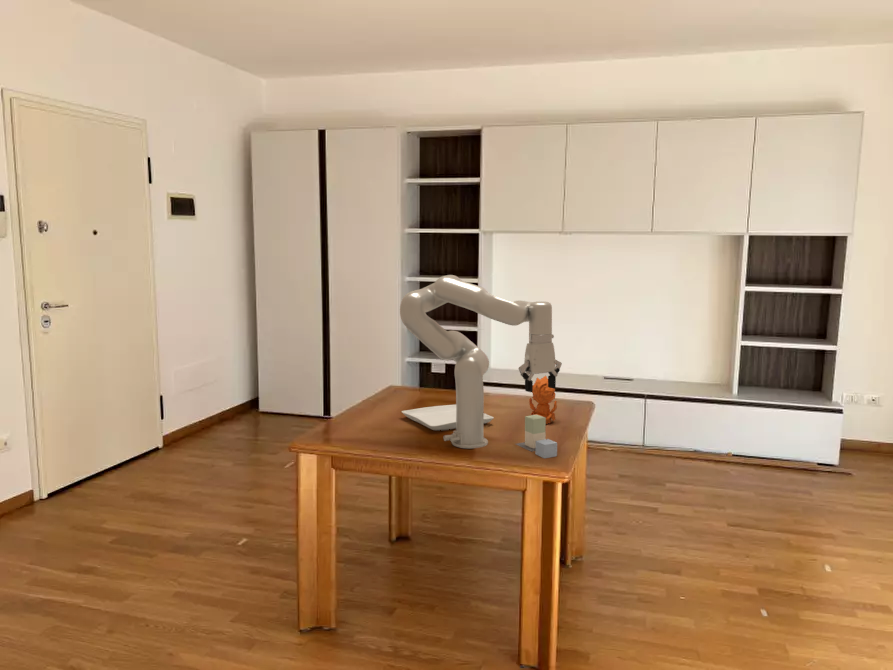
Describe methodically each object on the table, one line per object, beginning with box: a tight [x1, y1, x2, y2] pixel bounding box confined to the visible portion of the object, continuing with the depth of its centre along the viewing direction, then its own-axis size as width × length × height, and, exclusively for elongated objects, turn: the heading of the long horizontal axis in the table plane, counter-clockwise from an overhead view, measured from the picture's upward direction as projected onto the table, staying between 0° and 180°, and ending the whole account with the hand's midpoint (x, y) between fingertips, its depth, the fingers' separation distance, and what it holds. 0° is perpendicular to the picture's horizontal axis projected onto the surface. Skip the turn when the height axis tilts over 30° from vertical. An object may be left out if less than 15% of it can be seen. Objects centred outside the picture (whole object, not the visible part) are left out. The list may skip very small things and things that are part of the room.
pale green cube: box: [524, 414, 547, 434], centre depth 238 cm, size 5×5×5 cm
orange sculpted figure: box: [528, 375, 558, 425], centre depth 270 cm, size 11×11×18 cm
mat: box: [515, 441, 536, 453], centre depth 239 cm, size 10×10×1 cm
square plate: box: [400, 403, 495, 431], centre depth 272 cm, size 27×27×4 cm
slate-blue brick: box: [534, 438, 558, 459], centre depth 228 cm, size 5×5×5 cm
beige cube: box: [524, 430, 546, 448], centre depth 239 cm, size 5×5×5 cm
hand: (540, 389), depth 233 cm, fingers open, 9 cm apart
